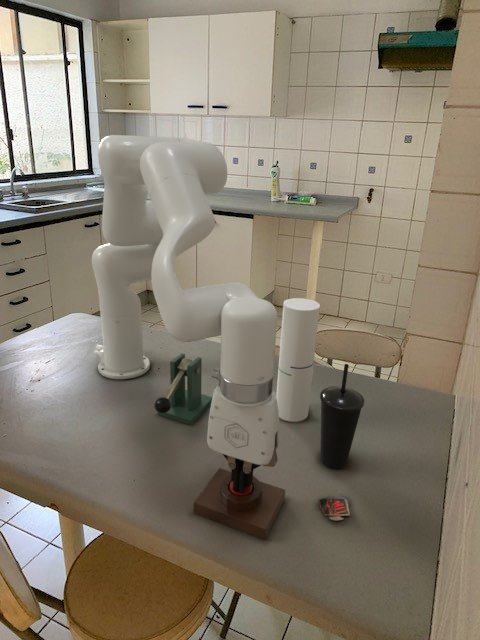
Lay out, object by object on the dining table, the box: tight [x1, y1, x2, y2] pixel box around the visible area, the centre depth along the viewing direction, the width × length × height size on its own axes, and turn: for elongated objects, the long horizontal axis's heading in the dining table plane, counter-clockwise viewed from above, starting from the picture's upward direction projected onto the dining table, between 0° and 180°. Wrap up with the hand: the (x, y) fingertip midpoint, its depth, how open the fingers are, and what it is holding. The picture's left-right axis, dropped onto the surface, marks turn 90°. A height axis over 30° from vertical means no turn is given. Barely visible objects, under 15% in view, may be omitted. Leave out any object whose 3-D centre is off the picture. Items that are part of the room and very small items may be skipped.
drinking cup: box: [319, 363, 366, 470], centre depth 82 cm, size 8×8×20 cm
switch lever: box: [153, 357, 194, 414], centre depth 93 cm, size 13×3×3 cm, turn 156°
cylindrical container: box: [275, 297, 321, 423], centre depth 96 cm, size 7×7×25 cm
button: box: [230, 481, 253, 497], centre depth 73 cm, size 4×4×2 cm
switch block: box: [193, 467, 286, 541], centre depth 74 cm, size 12×9×4 cm
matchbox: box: [318, 497, 351, 522], centre depth 74 cm, size 5×5×1 cm
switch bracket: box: [157, 352, 213, 426], centre depth 98 cm, size 10×8×12 cm
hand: (241, 486), depth 73 cm, fingers closed
